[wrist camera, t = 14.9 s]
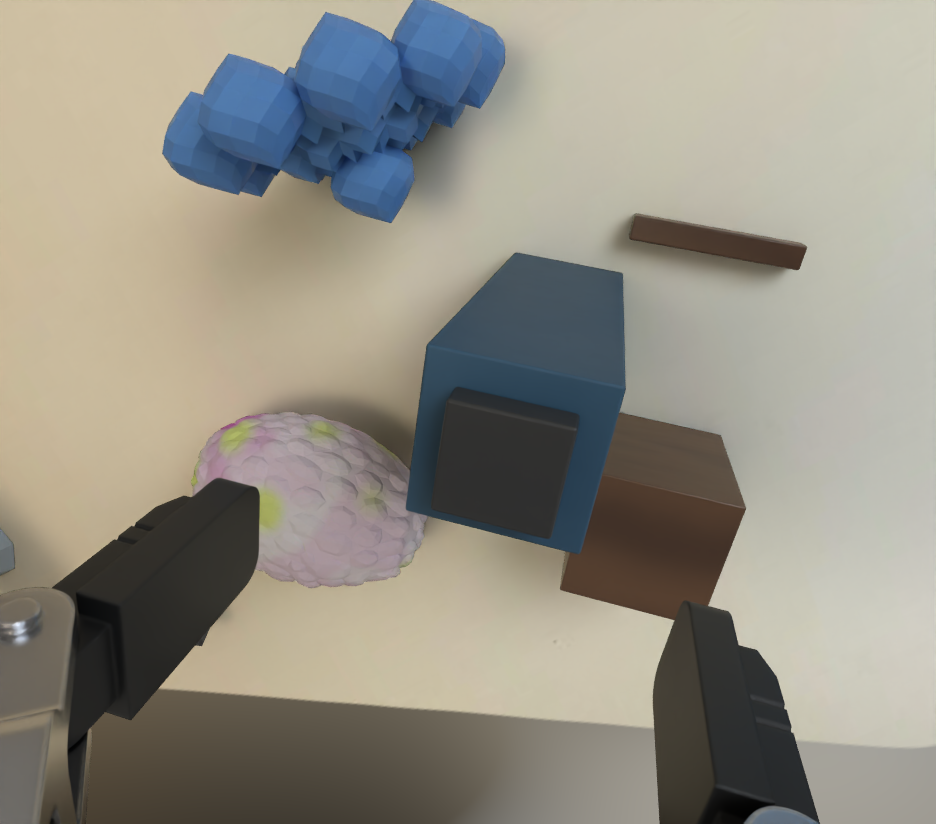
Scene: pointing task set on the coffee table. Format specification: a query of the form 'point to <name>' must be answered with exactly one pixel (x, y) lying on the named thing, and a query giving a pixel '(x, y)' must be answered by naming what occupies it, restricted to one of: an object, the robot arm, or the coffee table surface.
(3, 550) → the jet engine
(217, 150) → the grapes
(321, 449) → the decorative item
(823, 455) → the coffee table surface
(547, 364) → the steel blue prism
